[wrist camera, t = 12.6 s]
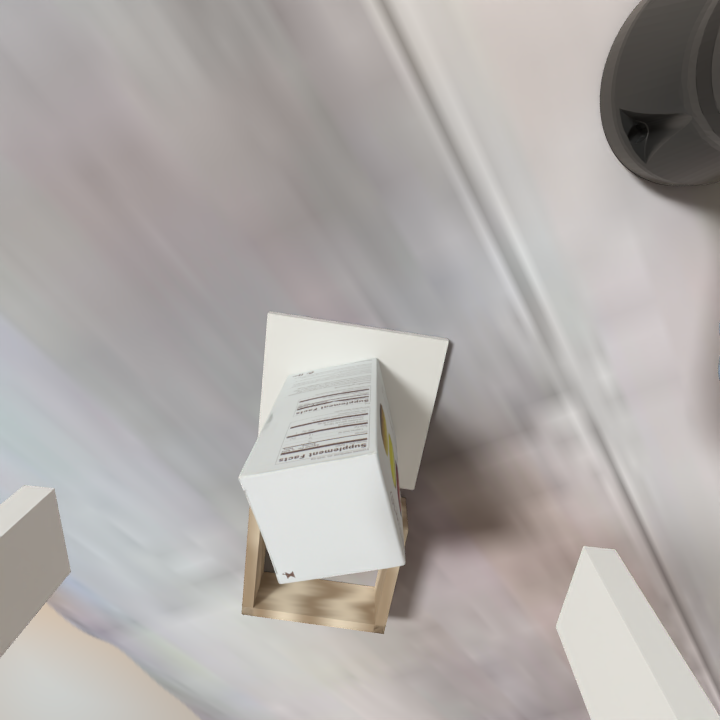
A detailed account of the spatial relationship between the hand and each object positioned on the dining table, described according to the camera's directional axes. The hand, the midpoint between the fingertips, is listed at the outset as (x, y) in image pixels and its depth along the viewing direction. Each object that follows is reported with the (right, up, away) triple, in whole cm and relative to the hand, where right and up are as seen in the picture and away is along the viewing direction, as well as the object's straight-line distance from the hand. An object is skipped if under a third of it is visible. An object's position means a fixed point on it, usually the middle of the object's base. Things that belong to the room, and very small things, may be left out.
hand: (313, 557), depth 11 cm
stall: (-3, -15, +40) cm, 43 cm away
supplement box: (0, 0, +34) cm, 34 cm away
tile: (0, +1, +34) cm, 34 cm away
